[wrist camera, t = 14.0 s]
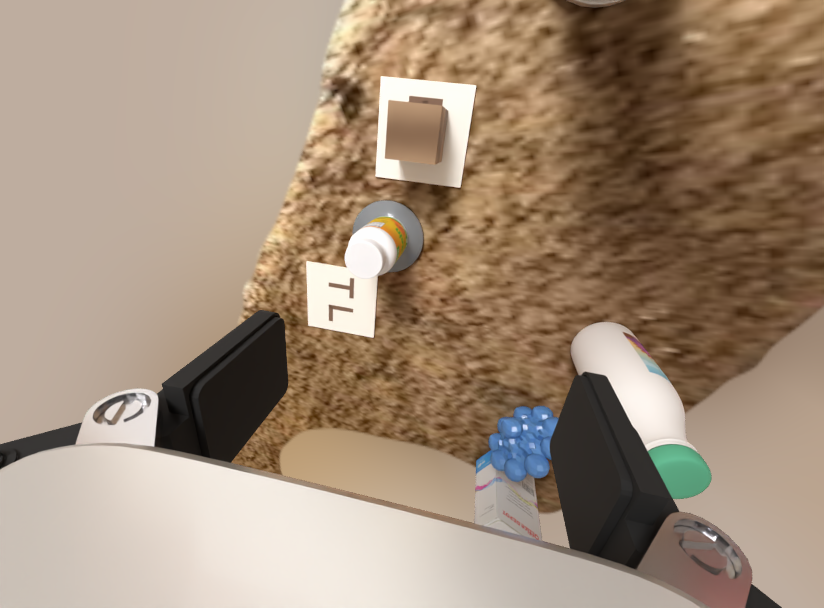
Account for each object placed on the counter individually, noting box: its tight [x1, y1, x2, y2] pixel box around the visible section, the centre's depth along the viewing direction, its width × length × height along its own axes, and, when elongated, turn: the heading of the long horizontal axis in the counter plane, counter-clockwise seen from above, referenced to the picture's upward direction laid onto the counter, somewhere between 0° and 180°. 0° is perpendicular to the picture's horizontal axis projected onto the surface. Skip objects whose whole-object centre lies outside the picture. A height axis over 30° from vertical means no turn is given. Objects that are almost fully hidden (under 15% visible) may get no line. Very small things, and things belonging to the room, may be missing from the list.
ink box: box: [474, 450, 542, 541], centre depth 51 cm, size 9×5×12 cm, turn 52°
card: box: [306, 261, 378, 338], centre depth 49 cm, size 10×10×1 cm
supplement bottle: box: [345, 216, 408, 279], centre depth 39 cm, size 5×5×10 cm
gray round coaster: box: [353, 200, 424, 272], centre depth 44 cm, size 9×9×1 cm
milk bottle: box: [571, 322, 711, 499], centre depth 36 cm, size 8×8×20 cm
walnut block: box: [385, 100, 448, 165], centre depth 36 cm, size 5×5×6 cm
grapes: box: [488, 406, 559, 482], centre depth 46 cm, size 12×7×12 cm, turn 134°
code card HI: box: [376, 76, 476, 188], centre depth 38 cm, size 10×10×1 cm
